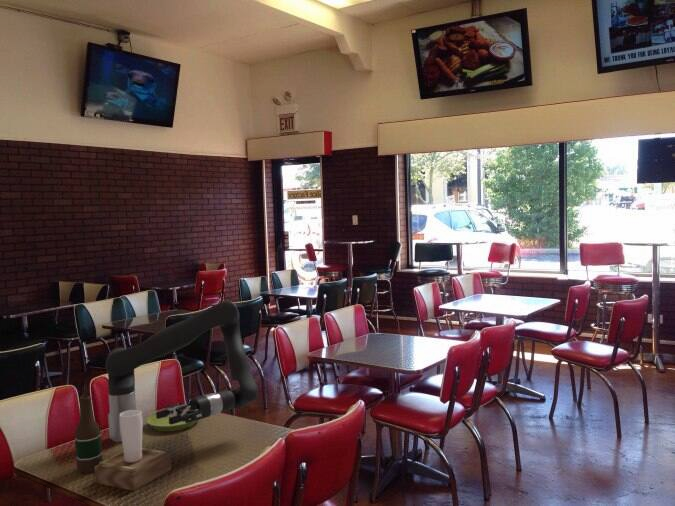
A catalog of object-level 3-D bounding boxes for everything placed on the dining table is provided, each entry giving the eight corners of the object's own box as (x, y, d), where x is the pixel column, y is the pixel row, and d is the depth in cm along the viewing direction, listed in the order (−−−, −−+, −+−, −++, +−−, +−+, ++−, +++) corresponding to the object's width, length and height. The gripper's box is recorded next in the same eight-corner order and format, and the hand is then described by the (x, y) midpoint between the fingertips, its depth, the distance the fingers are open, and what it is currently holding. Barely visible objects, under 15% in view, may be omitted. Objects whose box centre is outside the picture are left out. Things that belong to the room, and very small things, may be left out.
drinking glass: (137, 464, 183) (134, 417, 182) (117, 464, 184) (114, 416, 183) (148, 456, 189) (145, 409, 188) (129, 455, 191) (126, 409, 190)
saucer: (173, 437, 219) (172, 429, 219) (135, 429, 230) (135, 421, 230) (212, 420, 237) (212, 412, 236) (176, 413, 247) (175, 405, 247)
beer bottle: (71, 472, 192) (66, 399, 190) (90, 462, 199) (85, 392, 197) (90, 475, 189) (84, 401, 187) (108, 465, 196) (103, 393, 194)
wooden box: (95, 482, 183) (94, 463, 183) (133, 462, 197) (132, 444, 197) (134, 490, 176) (133, 471, 176) (171, 469, 191) (170, 450, 190)
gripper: (194, 391, 210) (151, 402, 198) (217, 399, 199) (173, 411, 188) (195, 412, 210) (153, 424, 199) (218, 421, 200) (174, 435, 189)
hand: (162, 418), depth 194 cm, fingers open, 8 cm apart
